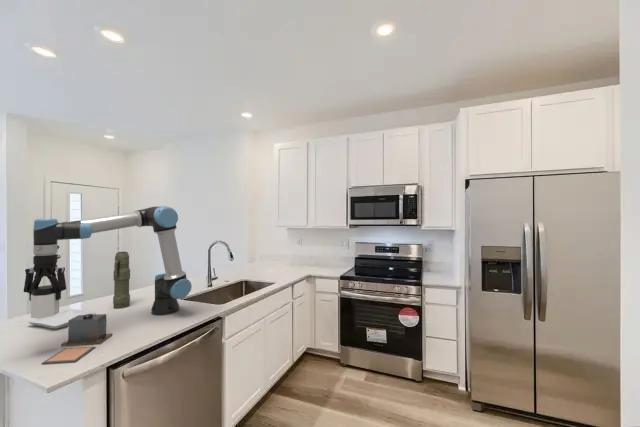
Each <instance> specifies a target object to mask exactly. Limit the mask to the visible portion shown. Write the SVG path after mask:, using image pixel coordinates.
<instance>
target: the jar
mask: <svg viewBox="0 0 640 427" xmlns="http://www.w3.org/2000/svg"><path fill="white" fill-rule="evenodd" d="M53 292H54V290H53V287H52V285H51V284H48V285H39V286H38V287H36V288H33V289H32V295H31V301H30V318H31V319H38V318H39V319H40V318H45V317H50V316H54V315H56V314H57V313H59V312H60V306H59V307H57V308H54V294H53Z"/></svg>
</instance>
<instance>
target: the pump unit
mask: <svg viewBox="0 0 640 427" xmlns="http://www.w3.org/2000/svg"><path fill="white" fill-rule="evenodd" d="M67 329H68V334H67V338H68V339H67V340H64V341H63V342H61V344H60V347H76V346H77V347H78V346H95V345H101V344H103V343H104V342H106V341H107V340H108V339H110V338H111V337H112V336H113V333H110V332H109V333H107V313H101V314H97V313H96V315H93V314H86V315H78V316H76V317H74V318H72V319H70V320H68V326H67Z"/></svg>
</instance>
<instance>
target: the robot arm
mask: <svg viewBox="0 0 640 427" xmlns="http://www.w3.org/2000/svg"><path fill="white" fill-rule="evenodd" d="M178 221H179V215H178V213H177V211H176V210H175V209H174V208H173V207H170V206H167V205H161V206H149V207H147V208H143V209H138V210H134V211H133V212H129V213H123V214H122V213H121V214H115V215H107V216H106V215H105V216H101V217H94V218H93V217H92V218H87V219H79V220H73V221H63V222H59V221H58V219H57V218H36V219H35V220H33V229H32V230H33V231H32V232H33V235H32V236H33V256H32V257H33V258H32V260H33V261H32V263H33V265H34V266H33V267H30V268H26V269H24V272H25V279H24V287H23V292H24V293H27V294H29V295H28V296H29V297H28V298H29V299H28V301H30V302H31V295H32V289H33V288H36V287H40V284H41V281H42V279H43V278H44V277H46V278H47V279H48V280H49V282H50V285H52V287H53V290H54V292H53V294H54V308H57V307H59V308H60V300H61V299H62V291H65V290H67V284H66V277H65V275H66V274H65V272H66V271H65V270H66V267H59V266H58V264H57V263H58V254H57V253H58V241H64V240H84V239H85V240H87V239H90V238H91V236H92V234H97V233H101V232H107V231H109V232H110V231H114V230H119V229H125V228H131V227H138V228H141V227H152V231H153V233H154V234H156V235H157V238H158V243H159V249H160V253H161V258H162V262H163V267H164V273H160V274H156V275H155V276H154V301H153V304H152V306H151V309H150V313H151V315H154V316H164V315H170V314H174V313H176V312H179V311H180V305H179V301H178V300H182V299H184V298H186V297H188V295H189V294H190V292H191V291H192V282H191V281H190V280H189V279H188V277H187V274H186V272H185V271H184V270H183V268H182V263H181V259H180V253H179V248H178V243H177V240H176V239H177V238H176V237H177V236H176V233H175V231H176V229H177V228H178V227H177V223H178Z"/></svg>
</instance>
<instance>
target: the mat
mask: <svg viewBox="0 0 640 427" xmlns="http://www.w3.org/2000/svg"><path fill="white" fill-rule="evenodd" d="M94 349H96V346H95V345H94V346H82V347H78V346H77V347H65V348H63V349H61V350H60V351H58V352H56V353H55V354H54V355H52V356H50V357H49V358H47V359H45V360H44V361H43V362H41V365H42V366H43V365H56V364H58V365H59V364H71V363H72V364H73V363H76V362H77V363H78V361H80V360H81V359H83V357H86V355H88V354H89V353H90V352H92V351H93V350H94Z"/></svg>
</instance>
